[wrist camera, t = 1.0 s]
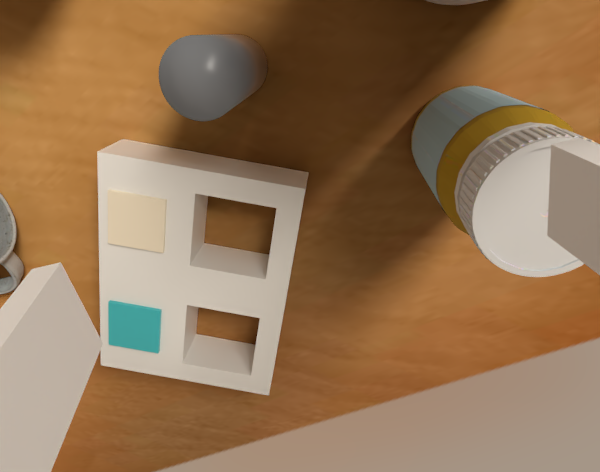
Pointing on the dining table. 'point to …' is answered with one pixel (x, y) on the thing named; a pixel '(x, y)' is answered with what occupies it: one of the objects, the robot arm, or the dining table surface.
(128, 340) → the socket block
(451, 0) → the cylinder vase
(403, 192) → the dining table surface
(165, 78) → the plug
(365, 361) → the dining table surface
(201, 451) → the dining table surface
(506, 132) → the bottle
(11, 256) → the ceramic mug
